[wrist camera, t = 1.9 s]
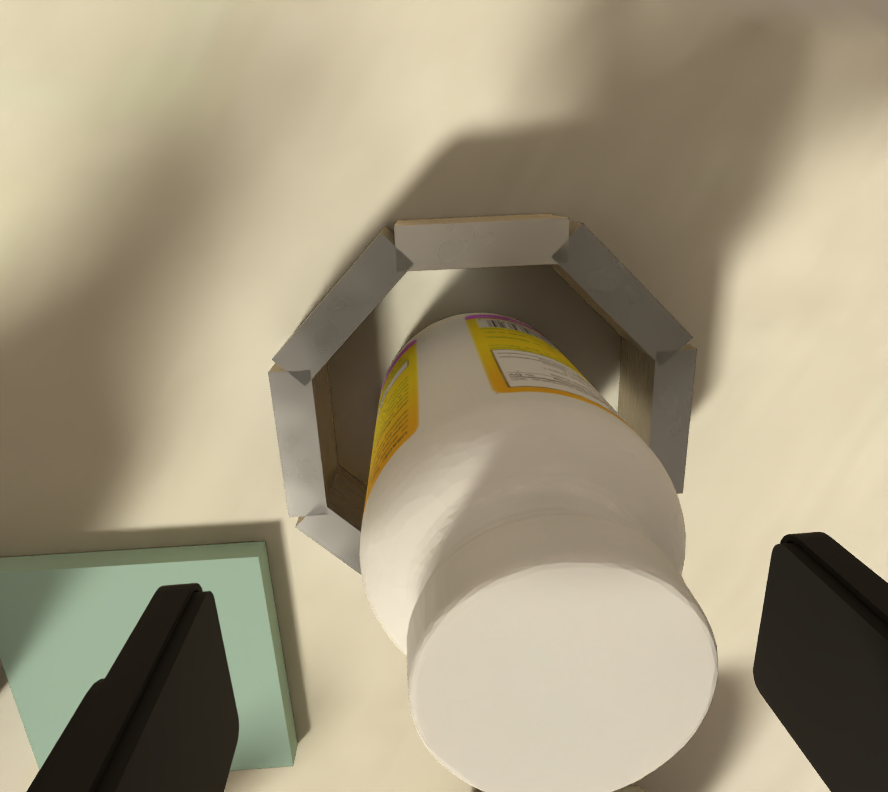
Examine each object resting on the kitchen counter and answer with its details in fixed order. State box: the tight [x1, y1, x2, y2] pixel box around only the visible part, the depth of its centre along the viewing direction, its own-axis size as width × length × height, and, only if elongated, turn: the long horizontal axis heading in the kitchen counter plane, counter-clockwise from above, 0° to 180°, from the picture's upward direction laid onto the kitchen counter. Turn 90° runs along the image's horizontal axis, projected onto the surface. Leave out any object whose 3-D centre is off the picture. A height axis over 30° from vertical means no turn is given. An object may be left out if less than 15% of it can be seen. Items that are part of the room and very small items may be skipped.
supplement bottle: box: [360, 312, 718, 792], centre depth 15 cm, size 7×7×13 cm
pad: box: [0, 541, 298, 771], centre depth 23 cm, size 10×10×1 cm
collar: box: [268, 213, 697, 575], centre depth 20 cm, size 12×12×3 cm
